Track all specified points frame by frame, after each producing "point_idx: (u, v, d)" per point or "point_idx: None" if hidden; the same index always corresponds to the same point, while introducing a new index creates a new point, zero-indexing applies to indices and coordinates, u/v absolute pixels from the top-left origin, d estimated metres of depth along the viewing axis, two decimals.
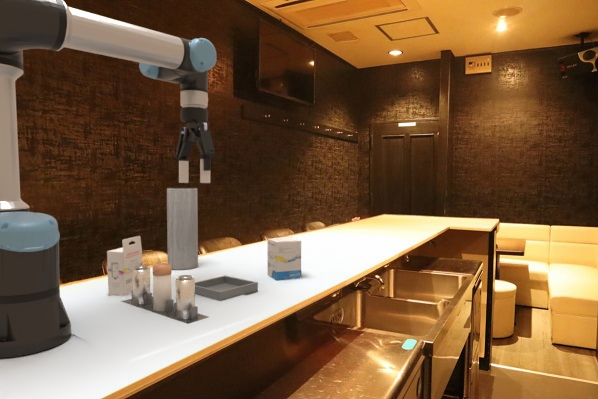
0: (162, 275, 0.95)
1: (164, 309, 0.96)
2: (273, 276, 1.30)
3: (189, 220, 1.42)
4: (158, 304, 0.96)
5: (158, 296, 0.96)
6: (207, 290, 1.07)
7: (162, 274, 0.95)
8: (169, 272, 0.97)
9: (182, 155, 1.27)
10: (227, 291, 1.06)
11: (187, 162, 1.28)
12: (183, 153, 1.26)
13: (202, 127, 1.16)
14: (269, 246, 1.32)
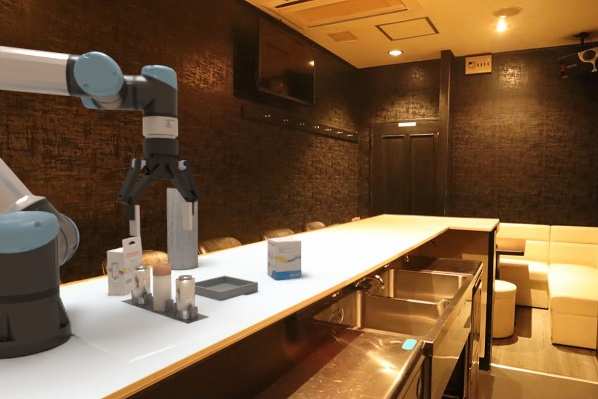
0: (162, 275, 0.95)
1: (164, 309, 0.96)
2: (273, 276, 1.30)
3: None
4: (158, 304, 0.96)
5: (158, 296, 0.96)
6: (207, 290, 1.07)
7: (162, 274, 0.95)
8: (169, 272, 0.97)
9: (182, 195, 1.02)
10: (227, 291, 1.06)
11: (188, 204, 1.01)
12: (181, 193, 1.01)
13: (130, 165, 0.92)
14: (269, 246, 1.32)
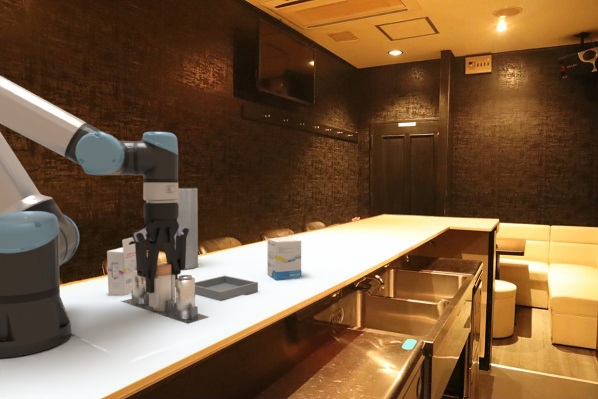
0: (162, 275, 0.95)
1: (164, 309, 0.96)
2: (273, 276, 1.30)
3: (189, 220, 1.42)
4: None
5: (159, 296, 0.96)
6: (207, 290, 1.07)
7: (162, 274, 0.95)
8: (169, 272, 0.97)
9: None
10: (227, 291, 1.06)
11: (171, 277, 0.98)
12: (168, 261, 0.99)
13: (134, 239, 0.93)
14: (269, 246, 1.32)
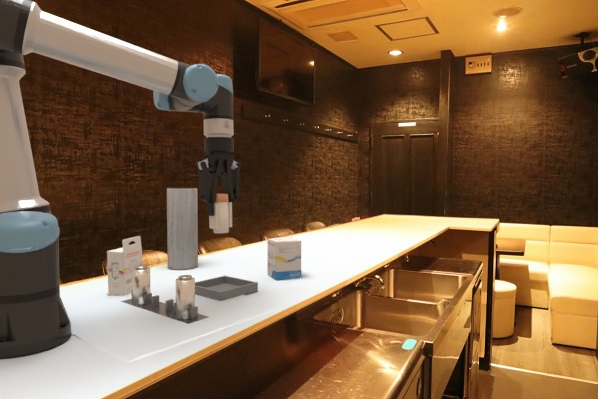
0: (221, 201, 1.09)
1: (223, 232, 1.10)
2: (273, 276, 1.30)
3: (189, 220, 1.42)
4: None
5: (219, 220, 1.09)
6: (207, 290, 1.07)
7: (221, 201, 1.09)
8: (227, 200, 1.10)
9: (225, 193, 1.13)
10: (227, 291, 1.06)
11: (228, 204, 1.12)
12: (225, 191, 1.13)
13: (198, 168, 1.07)
14: (269, 246, 1.32)
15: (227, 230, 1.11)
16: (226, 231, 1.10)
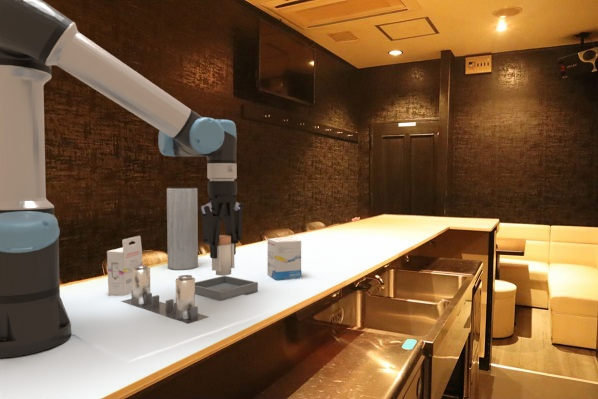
0: (224, 244, 1.11)
1: (226, 274, 1.11)
2: (273, 276, 1.30)
3: (189, 220, 1.42)
4: (221, 269, 1.11)
5: (221, 262, 1.11)
6: (207, 290, 1.07)
7: (224, 243, 1.11)
8: (230, 242, 1.12)
9: None
10: (227, 291, 1.06)
11: (231, 245, 1.14)
12: (227, 232, 1.15)
13: (201, 211, 1.08)
14: (269, 246, 1.32)
15: (229, 272, 1.12)
16: (228, 273, 1.12)
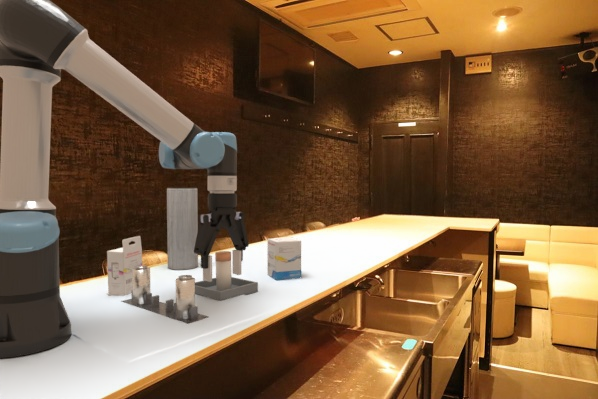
0: (224, 261, 1.11)
1: None
2: (273, 276, 1.30)
3: (189, 220, 1.42)
4: (221, 286, 1.11)
5: (221, 279, 1.11)
6: (207, 290, 1.07)
7: (224, 260, 1.11)
8: (230, 258, 1.12)
9: (234, 243, 1.17)
10: (227, 291, 1.06)
11: (238, 252, 1.16)
12: (233, 241, 1.16)
13: (199, 220, 1.08)
14: (269, 246, 1.32)
15: (230, 288, 1.13)
16: None
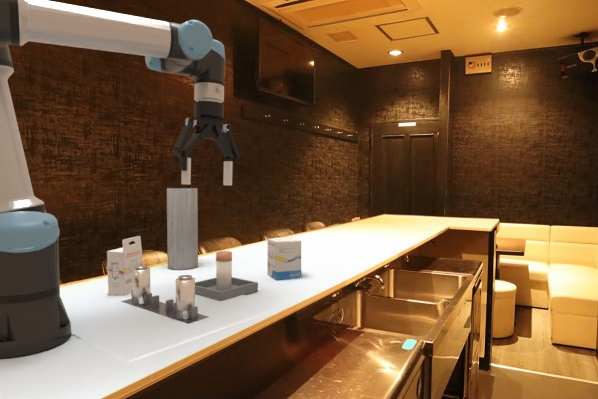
0: (225, 261, 1.11)
1: None
2: (273, 276, 1.30)
3: (189, 220, 1.42)
4: (222, 286, 1.11)
5: (222, 279, 1.11)
6: (207, 290, 1.07)
7: (225, 260, 1.11)
8: (230, 258, 1.12)
9: (224, 155, 1.16)
10: (227, 291, 1.06)
11: (229, 162, 1.15)
12: (223, 153, 1.16)
13: (184, 123, 1.06)
14: (269, 246, 1.32)
15: (230, 288, 1.13)
16: None
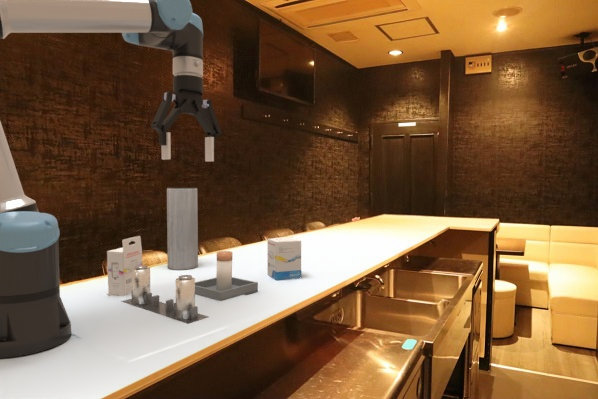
0: (226, 261, 1.11)
1: None
2: (273, 276, 1.30)
3: (189, 220, 1.42)
4: (222, 286, 1.11)
5: (222, 279, 1.11)
6: (207, 290, 1.07)
7: (226, 260, 1.11)
8: (231, 258, 1.13)
9: (205, 131, 1.16)
10: (227, 291, 1.06)
11: (210, 138, 1.15)
12: (204, 129, 1.15)
13: (163, 98, 1.05)
14: (269, 246, 1.32)
15: (230, 288, 1.13)
16: None
